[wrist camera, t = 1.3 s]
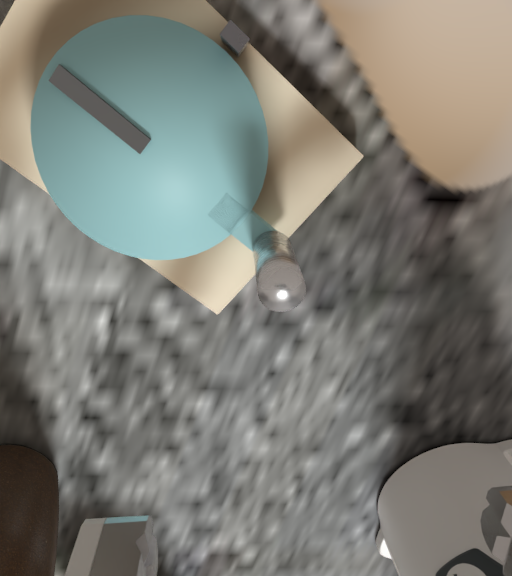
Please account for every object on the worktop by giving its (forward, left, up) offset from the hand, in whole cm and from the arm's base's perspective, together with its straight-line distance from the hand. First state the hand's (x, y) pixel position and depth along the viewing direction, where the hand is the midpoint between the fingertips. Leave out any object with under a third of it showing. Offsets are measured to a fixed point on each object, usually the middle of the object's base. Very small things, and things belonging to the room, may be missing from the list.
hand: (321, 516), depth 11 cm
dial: (+7, 0, -20) cm, 22 cm away
